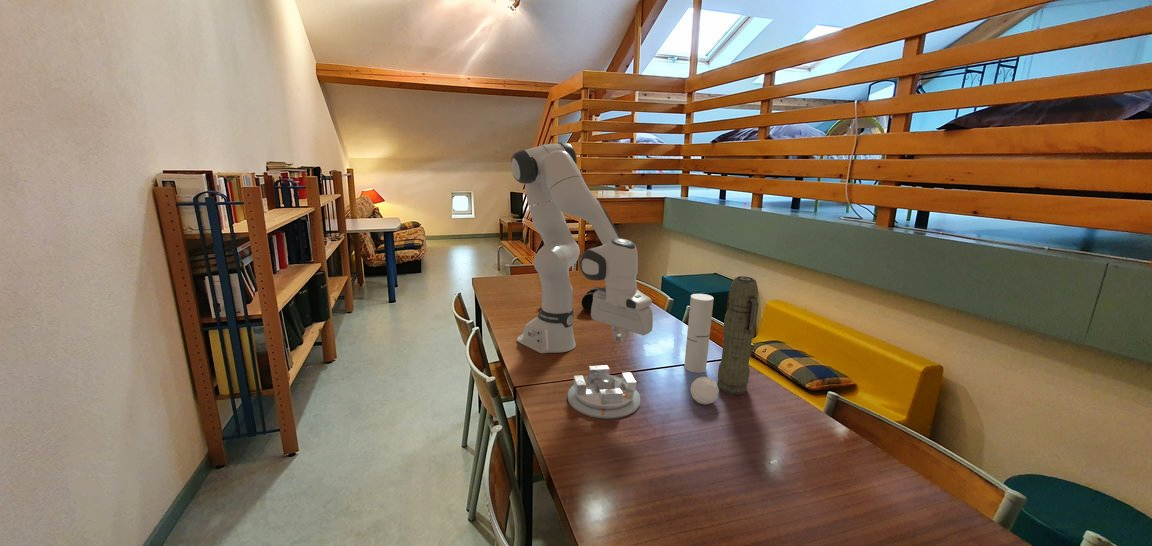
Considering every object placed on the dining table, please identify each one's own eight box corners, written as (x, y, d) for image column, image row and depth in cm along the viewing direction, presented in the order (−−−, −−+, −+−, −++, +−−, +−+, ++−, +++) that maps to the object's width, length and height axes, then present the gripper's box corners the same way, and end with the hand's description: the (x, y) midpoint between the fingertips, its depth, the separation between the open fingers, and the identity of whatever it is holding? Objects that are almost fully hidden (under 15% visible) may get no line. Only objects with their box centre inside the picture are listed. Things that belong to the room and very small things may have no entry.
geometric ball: (708, 413, 131) (718, 402, 125) (682, 399, 133) (691, 388, 127) (716, 392, 136) (726, 380, 130) (691, 379, 138) (700, 367, 131)
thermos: (729, 376, 148) (742, 272, 140) (756, 393, 138) (772, 282, 129) (707, 381, 145) (719, 274, 136) (734, 399, 134) (748, 285, 126)
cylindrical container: (706, 373, 150) (714, 301, 144) (684, 371, 151) (691, 299, 145) (705, 364, 157) (712, 294, 150) (683, 362, 158) (690, 292, 152)
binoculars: (580, 313, 203) (581, 291, 201) (587, 302, 223) (588, 282, 221) (645, 318, 198) (647, 296, 197) (646, 307, 218) (647, 286, 217)
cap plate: (553, 401, 130) (553, 398, 130) (593, 374, 147) (593, 371, 147) (617, 427, 119) (617, 423, 118) (652, 395, 135) (652, 391, 135)
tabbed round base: (563, 397, 130) (563, 381, 129) (595, 375, 144) (595, 360, 143) (614, 417, 121) (615, 400, 120) (643, 391, 135) (644, 376, 133)
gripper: (586, 290, 136) (586, 334, 139) (643, 306, 122) (641, 353, 125) (600, 286, 140) (599, 329, 143) (656, 300, 127) (654, 347, 130)
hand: (619, 340), depth 134 cm, fingers closed
